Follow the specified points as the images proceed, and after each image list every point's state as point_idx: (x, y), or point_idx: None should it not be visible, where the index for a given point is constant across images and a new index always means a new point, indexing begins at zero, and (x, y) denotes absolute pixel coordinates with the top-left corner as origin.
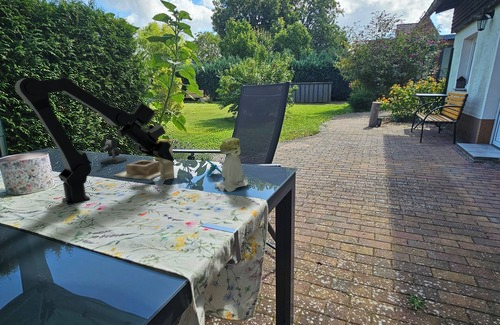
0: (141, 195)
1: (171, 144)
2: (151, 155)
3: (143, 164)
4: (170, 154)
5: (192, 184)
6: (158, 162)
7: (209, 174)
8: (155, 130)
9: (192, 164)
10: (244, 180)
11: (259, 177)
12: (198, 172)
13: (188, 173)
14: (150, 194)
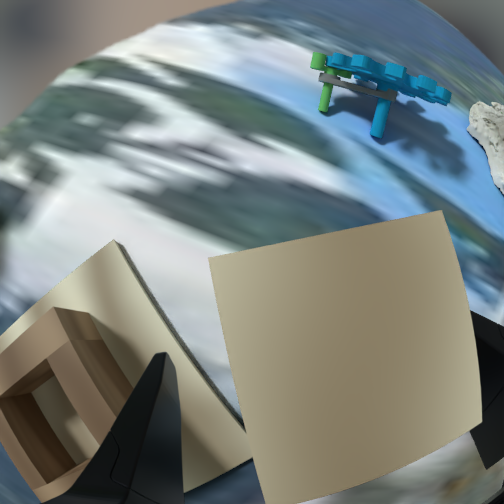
0: (460, 487)
1: (438, 220)
2: (182, 484)
3: (14, 393)
4: (495, 330)
5: (466, 260)
6: (64, 324)
7: (382, 126)
8: None
9: (96, 109)
10: (500, 109)
11: (445, 52)
12: (277, 135)
13: (262, 186)
14: (474, 457)
